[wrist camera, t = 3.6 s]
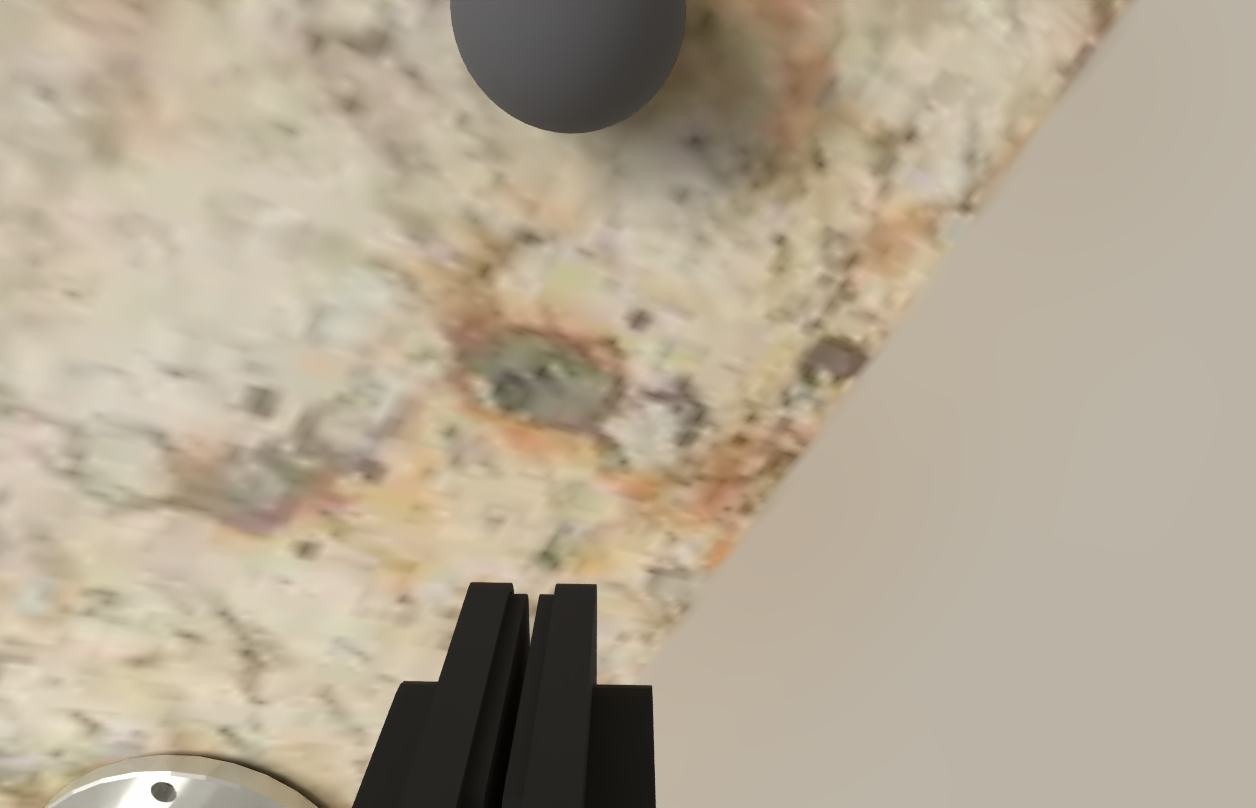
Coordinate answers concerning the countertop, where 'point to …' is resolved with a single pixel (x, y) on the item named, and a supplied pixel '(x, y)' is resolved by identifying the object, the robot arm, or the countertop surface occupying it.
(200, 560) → the countertop surface
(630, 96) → the dark gray ball
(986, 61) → the countertop surface
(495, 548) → the countertop surface
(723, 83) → the countertop surface
